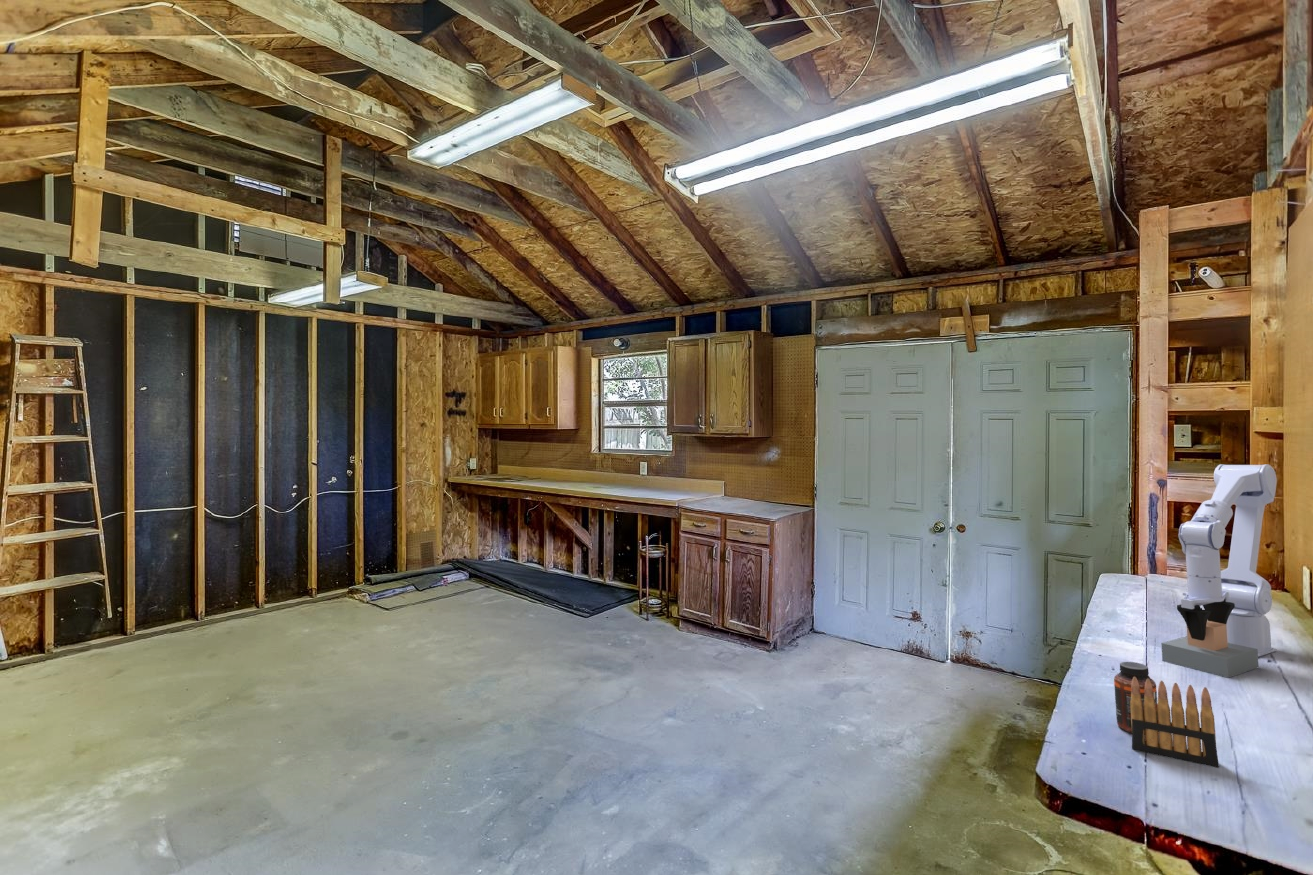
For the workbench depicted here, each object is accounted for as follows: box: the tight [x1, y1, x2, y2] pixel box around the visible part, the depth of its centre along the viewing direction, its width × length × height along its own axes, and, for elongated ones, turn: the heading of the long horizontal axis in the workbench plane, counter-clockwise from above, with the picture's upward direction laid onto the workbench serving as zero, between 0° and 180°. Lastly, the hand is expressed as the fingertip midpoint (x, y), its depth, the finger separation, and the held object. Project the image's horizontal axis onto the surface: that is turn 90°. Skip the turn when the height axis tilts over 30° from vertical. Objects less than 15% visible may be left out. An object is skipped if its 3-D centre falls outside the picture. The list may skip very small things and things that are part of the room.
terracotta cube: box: [1186, 620, 1228, 651], centre depth 137 cm, size 5×5×5 cm
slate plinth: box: [1161, 635, 1260, 678], centre depth 136 cm, size 12×12×4 cm
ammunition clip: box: [1130, 676, 1220, 769], centre depth 99 cm, size 11×2×12 cm, turn 52°
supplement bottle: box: [1113, 661, 1159, 734], centre depth 108 cm, size 6×6×11 cm
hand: (1207, 636), depth 137 cm, fingers open, 7 cm apart
